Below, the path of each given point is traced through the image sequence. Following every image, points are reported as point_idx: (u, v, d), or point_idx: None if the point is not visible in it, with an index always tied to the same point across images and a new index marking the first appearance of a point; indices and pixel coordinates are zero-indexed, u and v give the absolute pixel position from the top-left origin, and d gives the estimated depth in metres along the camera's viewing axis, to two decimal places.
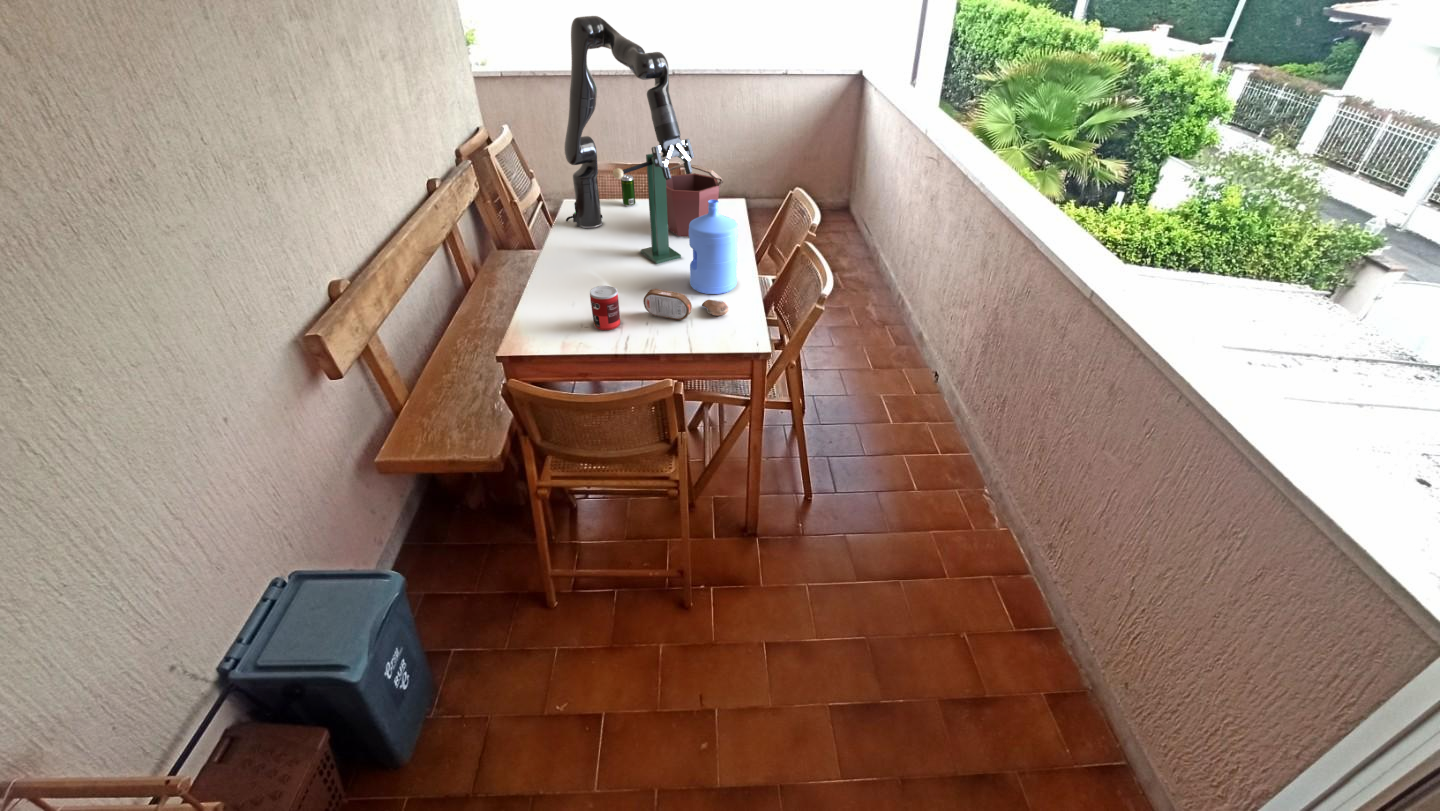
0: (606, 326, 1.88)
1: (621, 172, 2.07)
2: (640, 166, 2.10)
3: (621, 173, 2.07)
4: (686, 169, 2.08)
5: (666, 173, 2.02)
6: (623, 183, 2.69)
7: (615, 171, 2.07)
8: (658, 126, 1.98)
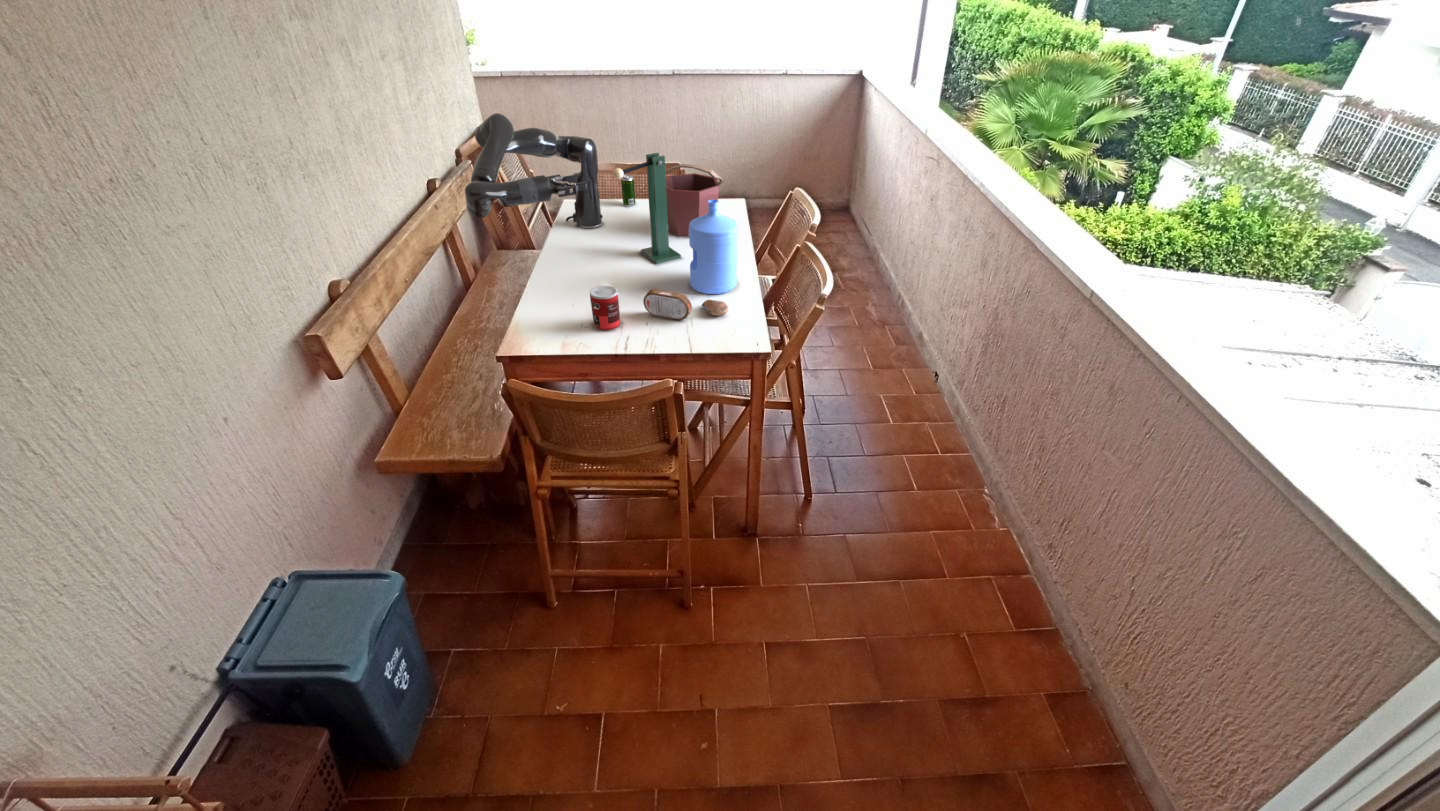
0: (606, 326, 1.88)
1: (621, 172, 2.07)
2: (640, 166, 2.10)
3: (621, 173, 2.07)
4: None
5: None
6: (623, 183, 2.69)
7: (615, 171, 2.07)
8: None
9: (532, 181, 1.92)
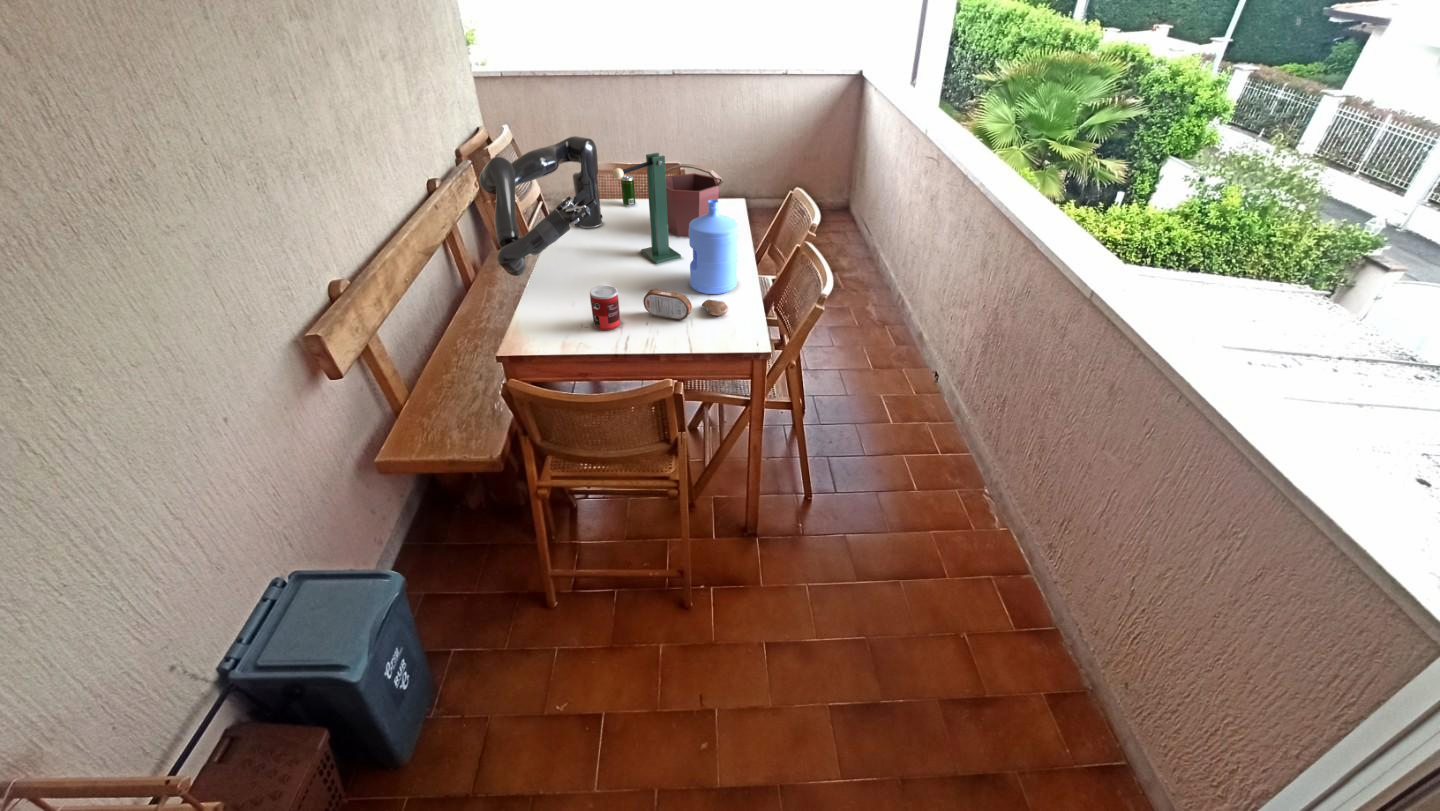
0: (606, 326, 1.88)
1: (621, 172, 2.07)
2: (640, 166, 2.10)
3: (621, 173, 2.07)
4: None
5: None
6: (623, 183, 2.69)
7: (615, 171, 2.07)
8: None
9: (547, 222, 2.01)
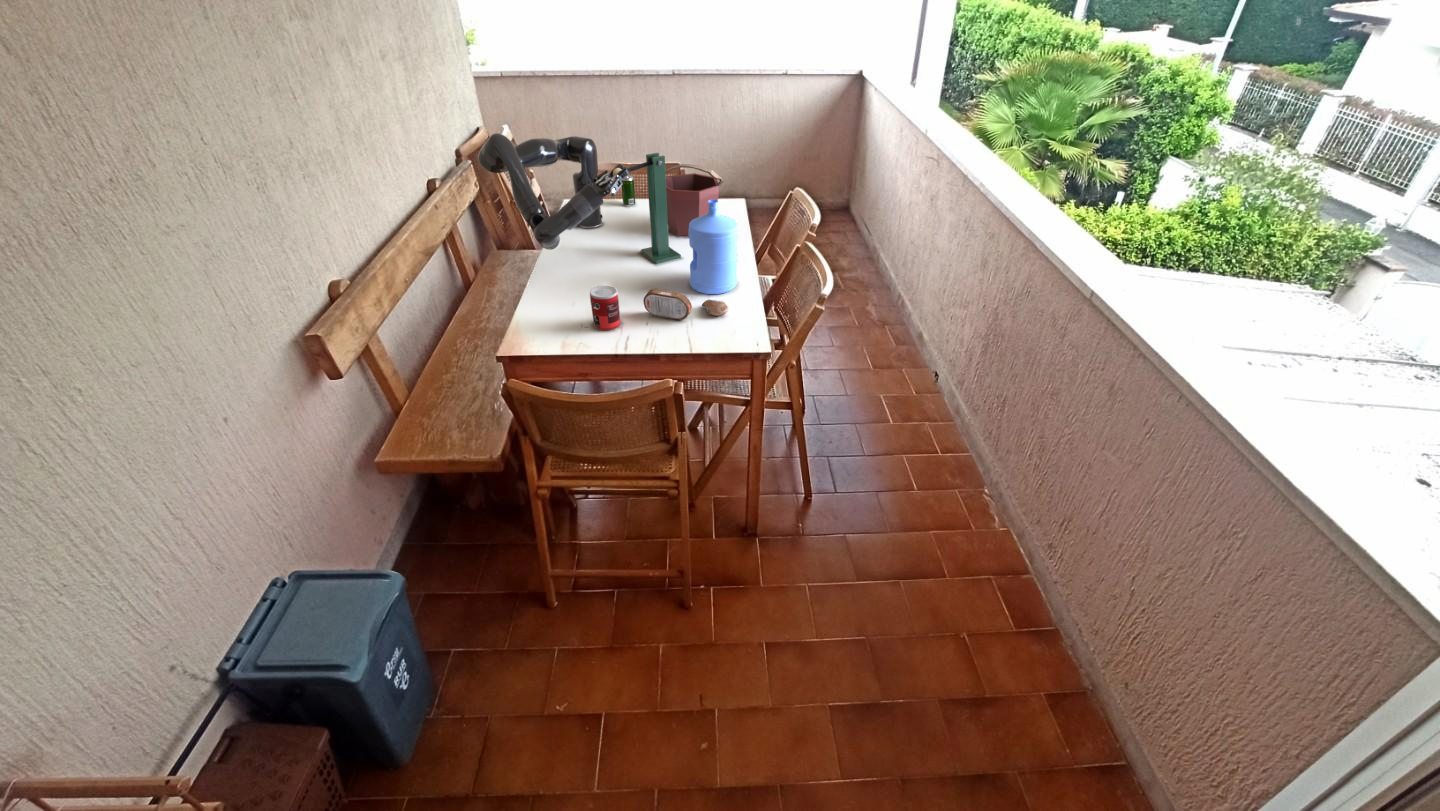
0: (606, 326, 1.88)
1: None
2: (640, 166, 2.10)
3: None
4: None
5: None
6: (623, 183, 2.69)
7: (615, 171, 2.07)
8: None
9: (581, 196, 2.03)
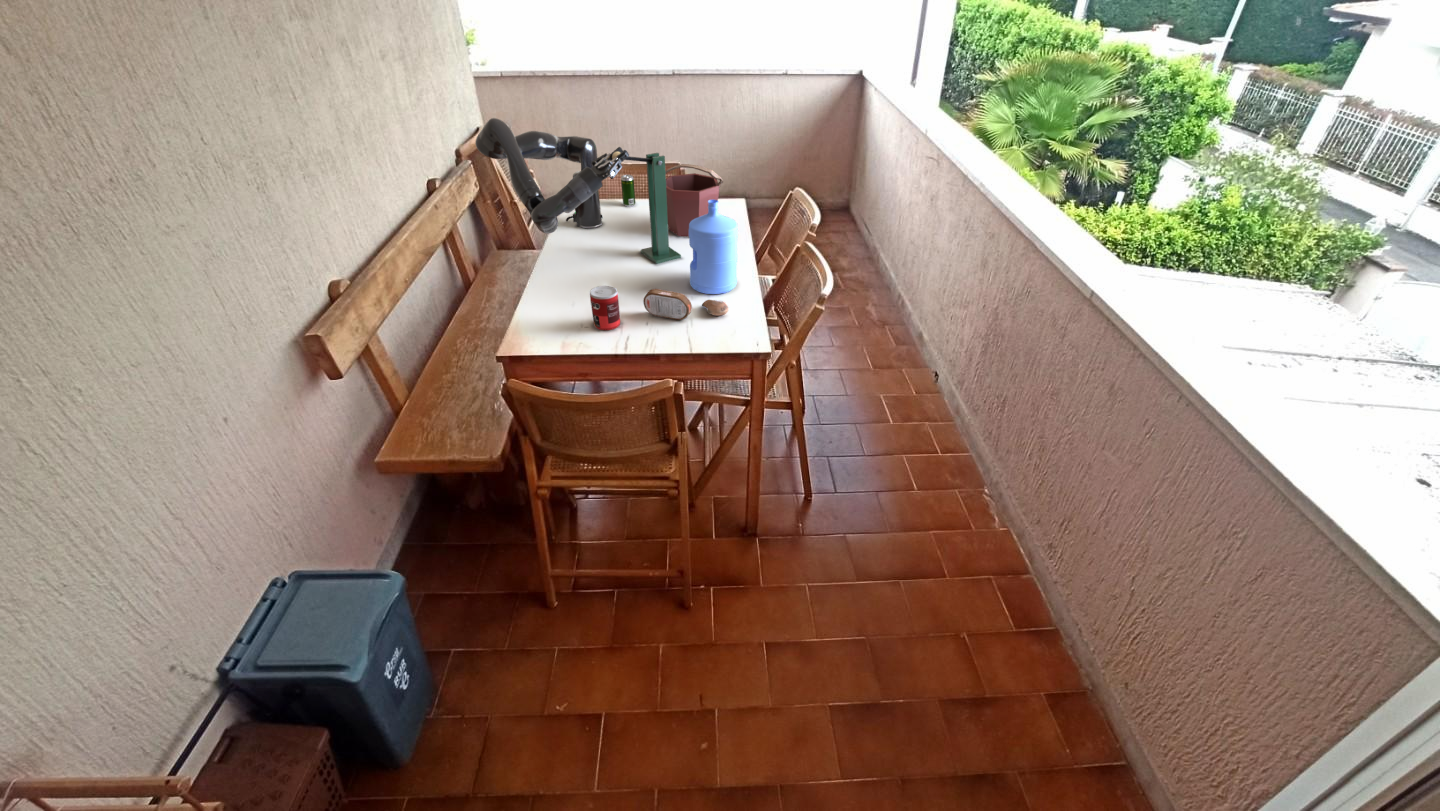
0: (606, 326, 1.88)
1: None
2: (640, 159, 2.09)
3: None
4: None
5: None
6: (623, 183, 2.69)
7: (615, 153, 2.04)
8: None
9: (580, 179, 2.00)
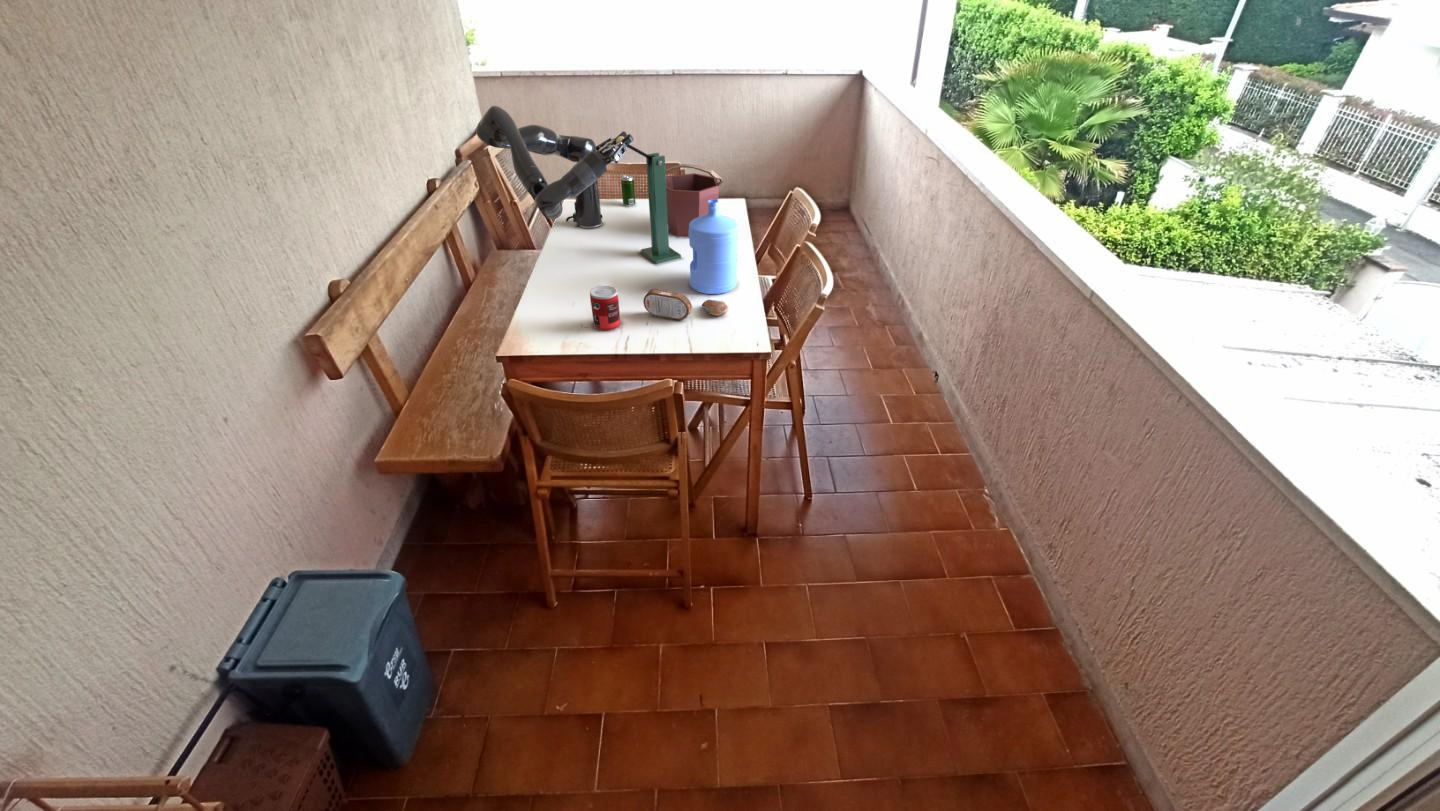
0: (606, 326, 1.88)
1: None
2: (642, 153, 2.08)
3: None
4: None
5: None
6: (623, 183, 2.69)
7: (621, 137, 2.02)
8: None
9: (584, 163, 1.98)
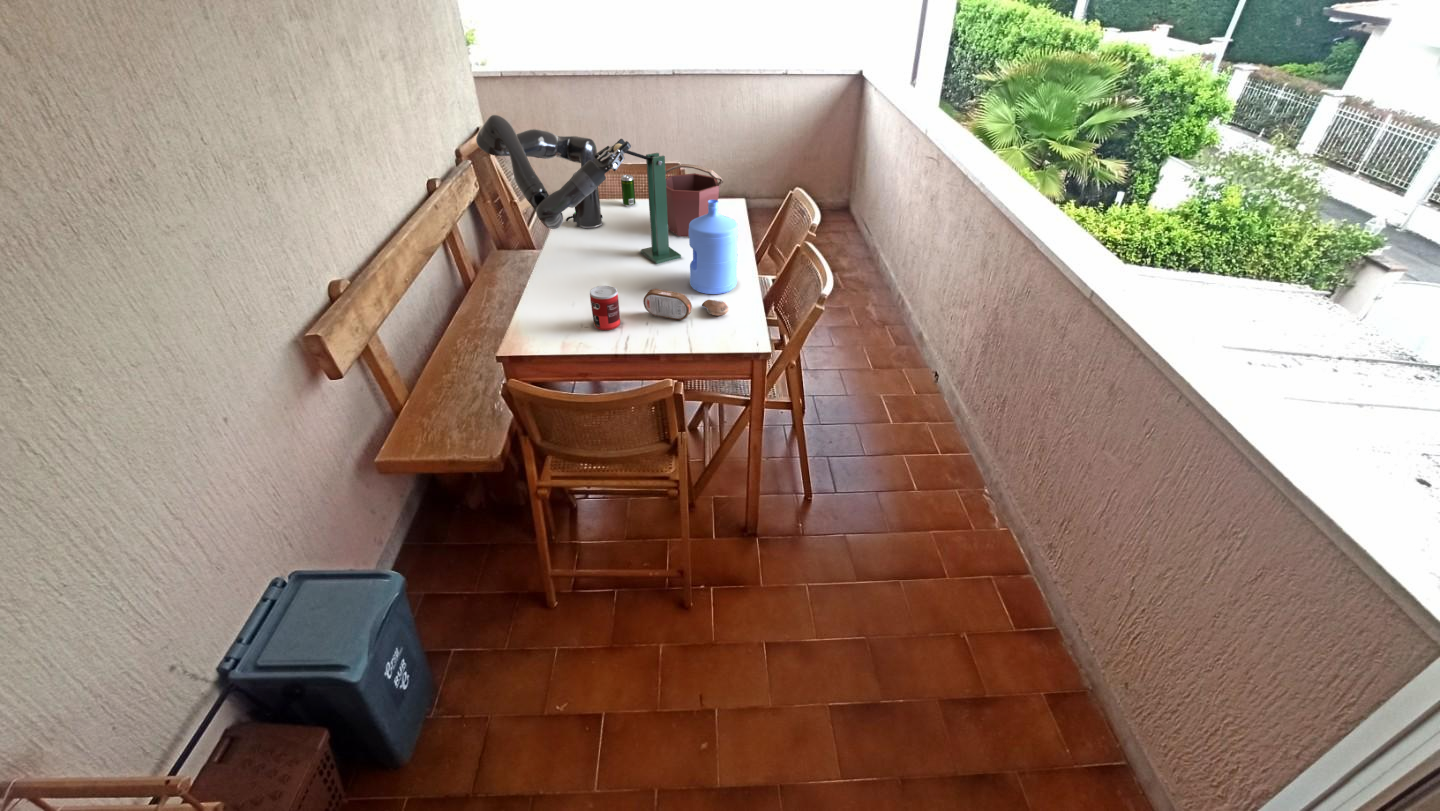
0: (606, 326, 1.88)
1: None
2: (641, 156, 2.09)
3: None
4: None
5: None
6: (623, 183, 2.69)
7: (618, 145, 2.03)
8: None
9: (583, 173, 2.00)
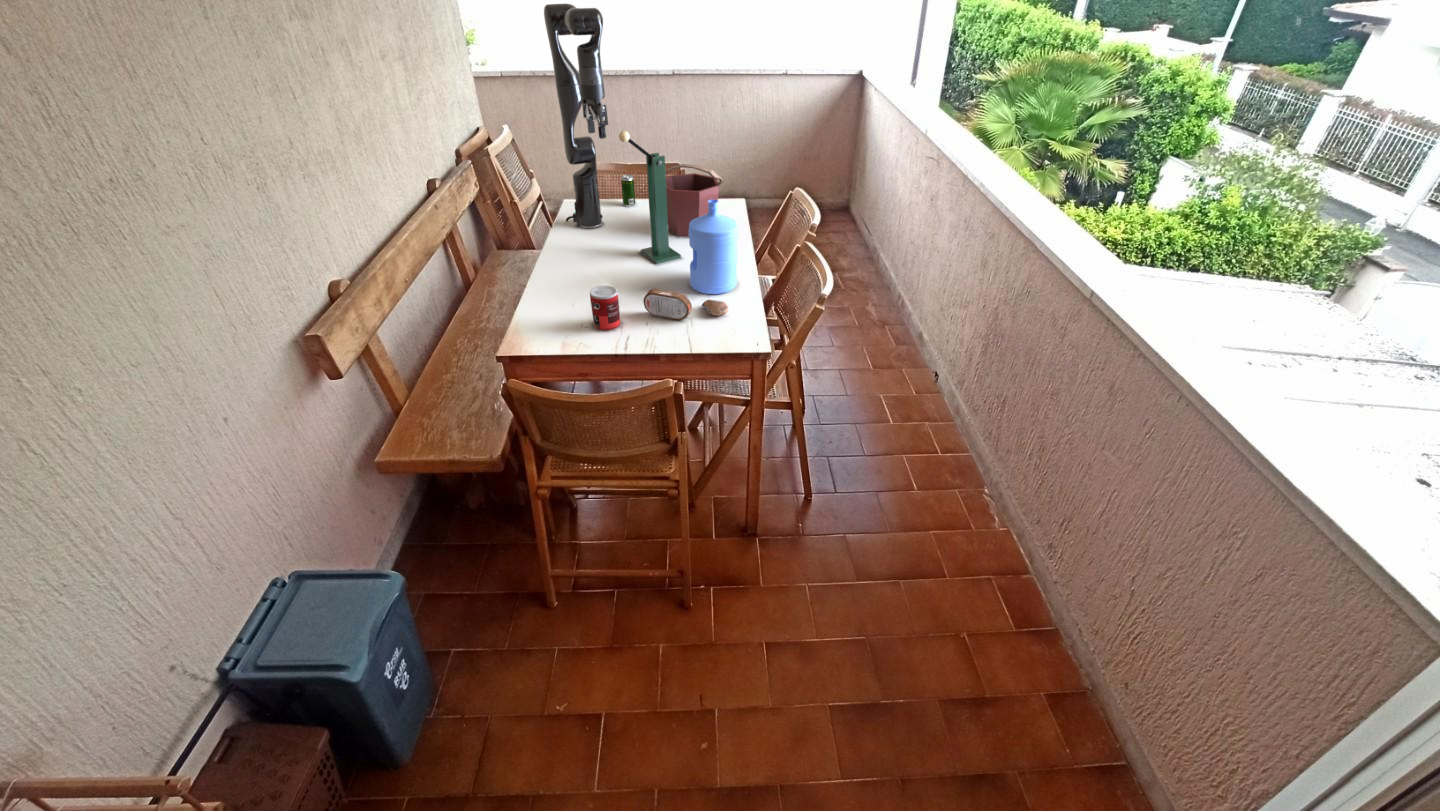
0: (606, 326, 1.88)
1: (628, 137, 2.02)
2: (643, 150, 2.08)
3: (628, 137, 2.02)
4: None
5: None
6: (623, 183, 2.69)
7: (624, 131, 2.02)
8: None
9: (603, 81, 2.04)
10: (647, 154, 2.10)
